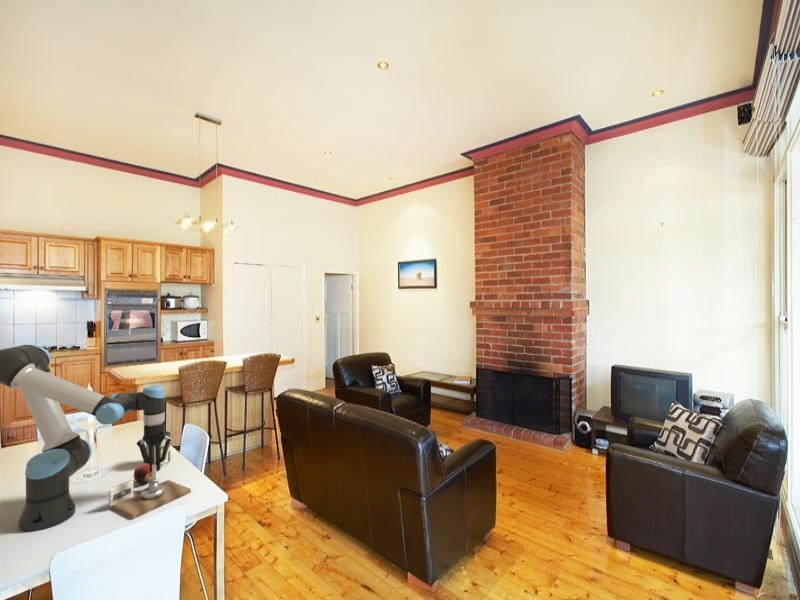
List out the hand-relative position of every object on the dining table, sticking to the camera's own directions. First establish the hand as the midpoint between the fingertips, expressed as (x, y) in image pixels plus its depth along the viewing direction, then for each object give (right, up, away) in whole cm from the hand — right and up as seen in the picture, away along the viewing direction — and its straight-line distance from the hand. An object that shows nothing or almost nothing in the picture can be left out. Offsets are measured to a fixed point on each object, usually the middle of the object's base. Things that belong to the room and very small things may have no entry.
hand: (155, 478), depth 161 cm
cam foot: (+2, -3, -5) cm, 6 cm away
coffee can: (-15, -5, +25) cm, 29 cm away
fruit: (-8, -5, +6) cm, 11 cm away
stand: (+4, -5, -8) cm, 10 cm away
